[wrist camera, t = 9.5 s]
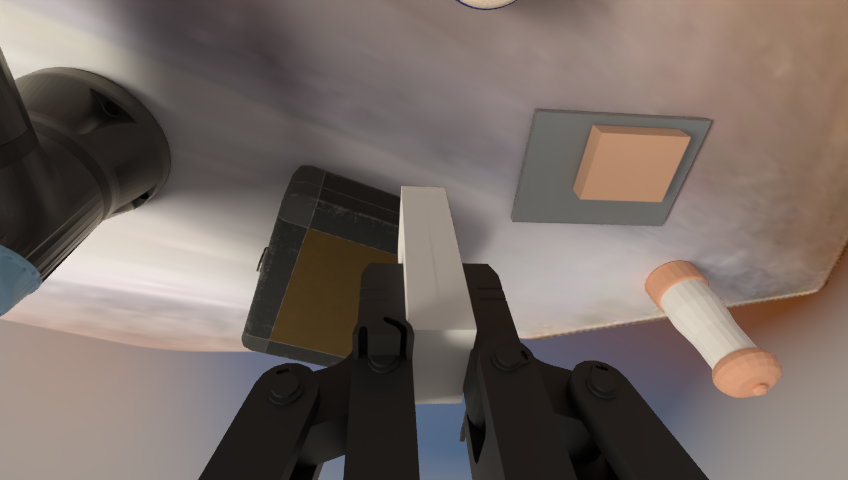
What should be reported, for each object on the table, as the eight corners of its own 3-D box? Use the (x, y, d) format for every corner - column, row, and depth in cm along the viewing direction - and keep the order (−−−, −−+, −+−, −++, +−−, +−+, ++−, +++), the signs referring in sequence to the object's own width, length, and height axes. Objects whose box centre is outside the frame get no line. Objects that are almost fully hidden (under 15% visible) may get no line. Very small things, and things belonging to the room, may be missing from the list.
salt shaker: (637, 297, 64) (716, 412, 49) (656, 259, 60) (750, 372, 44) (681, 298, 65) (773, 412, 49) (704, 261, 61) (812, 372, 45)
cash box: (292, 156, 48) (277, 189, 42) (452, 213, 54) (461, 250, 47) (248, 306, 61) (232, 349, 54) (382, 339, 66) (381, 381, 60)
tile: (580, 199, 49) (661, 202, 50) (601, 132, 44) (691, 137, 45) (572, 188, 51) (650, 191, 52) (592, 123, 47) (677, 128, 48)
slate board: (510, 217, 54) (512, 221, 53) (535, 108, 46) (537, 111, 45) (658, 221, 56) (662, 225, 55) (706, 118, 48) (711, 121, 47)
